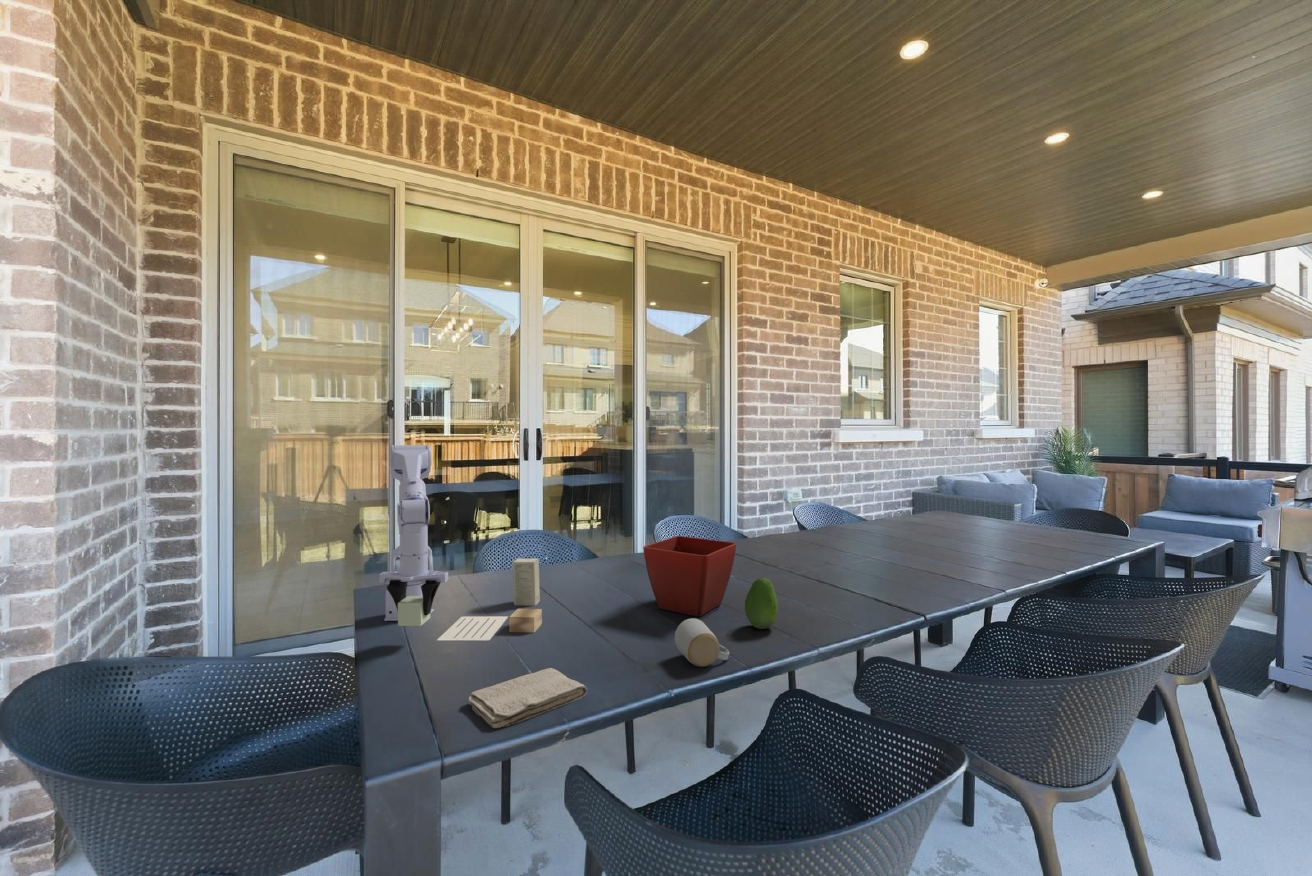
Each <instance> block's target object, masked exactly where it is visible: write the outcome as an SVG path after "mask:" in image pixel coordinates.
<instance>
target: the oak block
mask: <svg viewBox="0 0 1312 876" xmlns="http://www.w3.org/2000/svg"><path fill="white" fill-rule="evenodd" d="M542 610H543V609H542V608H517V609H516V610H515V611H514V612H513V613H511V615H510V616H509V618H508V619H509V625H508V626H509V627H508V628H509V632H510V633H528V634H529V633H535V632H536V631H537V630H538V629H539V628H540V627H541V625H542V624H543V611H542Z"/></svg>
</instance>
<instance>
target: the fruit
mask: <svg viewBox="0 0 1312 876" xmlns="http://www.w3.org/2000/svg"><path fill="white" fill-rule="evenodd" d="M778 611H779V604H778V599H777V595H776V592H775V588H774V585H773V583H772V581H771V580H770V579H769V578H766V577H765V578H764V577H760V578H757V579H756V580H755V581H754V582H753V583H752V584H751V586H750V588H749V591H748V593H747V594H746V597H745V600H744V612H745V615H746V618H747V621H749V623H750V624H751V625H752V626H753V627H754V628H756V629H758V630H765V629H766V630H767V629H768V628H770V627H771V626H772V625H774V623H775V622H776V620H777V616H778Z"/></svg>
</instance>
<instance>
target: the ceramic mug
mask: <svg viewBox="0 0 1312 876" xmlns="http://www.w3.org/2000/svg"><path fill="white" fill-rule="evenodd" d="M674 644H675V646H676V648H677V649H678V651H679V652H680V654H682V655H683V657H685V658H686V660H687V661H688V662H689V663H691V664H692V665H693V666H696V667H699V668H704V667H708V666H710V665H712V664H713V663H714V662H715V661H716V660H717V659H718V660H722V661H727V660H729V656H730V651H729V649H727V648H726V647H725V646H723V645H721V644H720V643H719V640H718V638H717V637H716V635H715V634H714V633H713V632H712V630H711V629H710V628H709V627H708V626H707V625H706V624H705V623H704V621H702V620H701V619H698V618H687V619H684V621H681V623H680V624H679V625H678V626H677V627H676V630H675V633H674Z"/></svg>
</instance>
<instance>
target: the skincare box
mask: <svg viewBox="0 0 1312 876" xmlns="http://www.w3.org/2000/svg"><path fill="white" fill-rule="evenodd" d="M512 574H513V575H512V579H513V582H512V583H513V605H514V606H528V607H529V606H530V607H531V606H533V607H535V606H537V605H538V604H539V602H540V601H541V597H540V596H541V592H540V590H541V589H540V587H541V586H540V560H539V557H537V558H536V557H535V558H533V557H532V558H530V557H529V558H527V557H523V558H521V557H519V558H516V559H515V560H513V561H512Z"/></svg>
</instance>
